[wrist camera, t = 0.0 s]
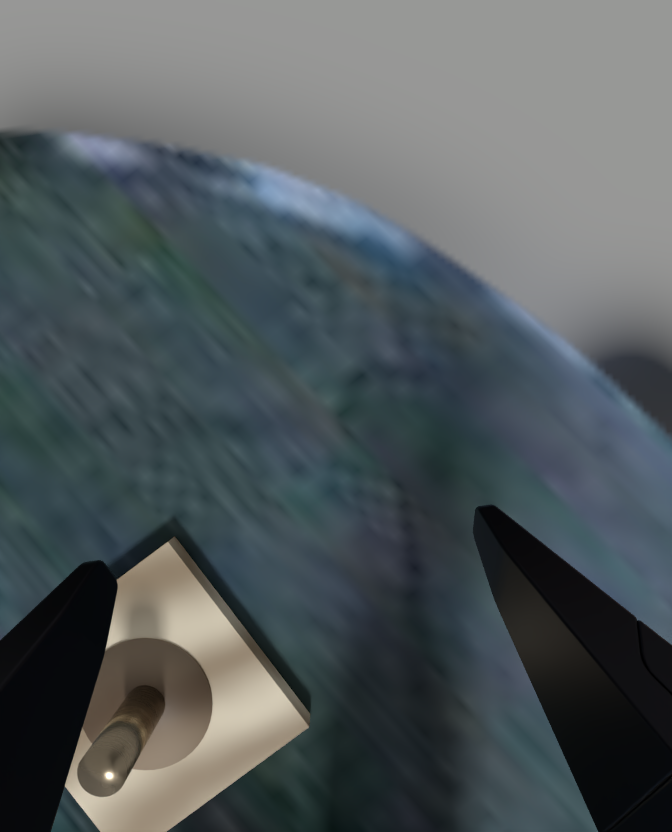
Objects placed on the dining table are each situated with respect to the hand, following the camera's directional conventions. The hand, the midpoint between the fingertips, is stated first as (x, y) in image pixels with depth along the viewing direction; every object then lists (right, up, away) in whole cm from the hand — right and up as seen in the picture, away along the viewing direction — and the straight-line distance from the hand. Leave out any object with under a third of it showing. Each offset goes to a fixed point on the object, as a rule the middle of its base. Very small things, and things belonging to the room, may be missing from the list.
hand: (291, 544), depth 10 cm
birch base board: (-10, -14, +15) cm, 23 cm away
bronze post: (-10, -14, +15) cm, 23 cm away
